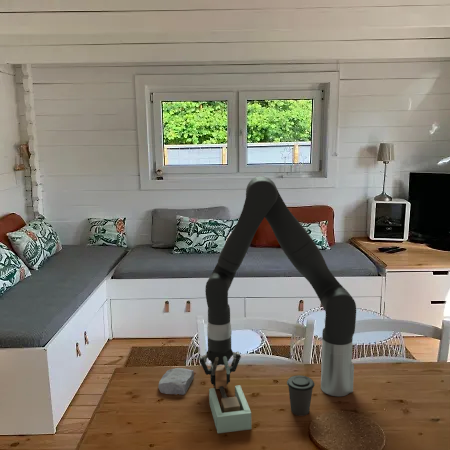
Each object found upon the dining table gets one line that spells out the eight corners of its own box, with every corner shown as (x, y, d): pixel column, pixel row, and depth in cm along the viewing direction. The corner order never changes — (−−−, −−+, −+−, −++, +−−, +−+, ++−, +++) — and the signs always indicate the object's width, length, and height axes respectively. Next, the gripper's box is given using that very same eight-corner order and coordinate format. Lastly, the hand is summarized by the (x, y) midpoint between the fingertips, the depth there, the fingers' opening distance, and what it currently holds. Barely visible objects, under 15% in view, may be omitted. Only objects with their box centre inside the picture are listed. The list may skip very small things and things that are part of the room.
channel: (240, 400, 147) (240, 385, 146) (251, 429, 133) (251, 412, 132) (209, 403, 145) (209, 388, 144) (217, 433, 131) (217, 417, 130)
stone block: (157, 398, 152) (187, 395, 150) (154, 384, 151) (183, 381, 149) (169, 381, 163) (196, 378, 161) (165, 368, 163) (193, 364, 161)
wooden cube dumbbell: (226, 382, 156) (225, 365, 155) (240, 420, 136) (239, 401, 135) (212, 383, 155) (212, 366, 154) (224, 422, 135) (224, 403, 134)
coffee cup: (315, 405, 144) (316, 375, 142) (311, 420, 136) (312, 389, 134) (289, 400, 146) (289, 370, 144) (283, 415, 139) (284, 384, 137)
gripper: (238, 327, 156) (239, 375, 159) (195, 331, 153) (197, 380, 156) (243, 337, 148) (244, 387, 152) (198, 341, 146) (200, 392, 149)
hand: (220, 383), depth 154 cm, fingers closed on wooden cube dumbbell, 3 cm apart
